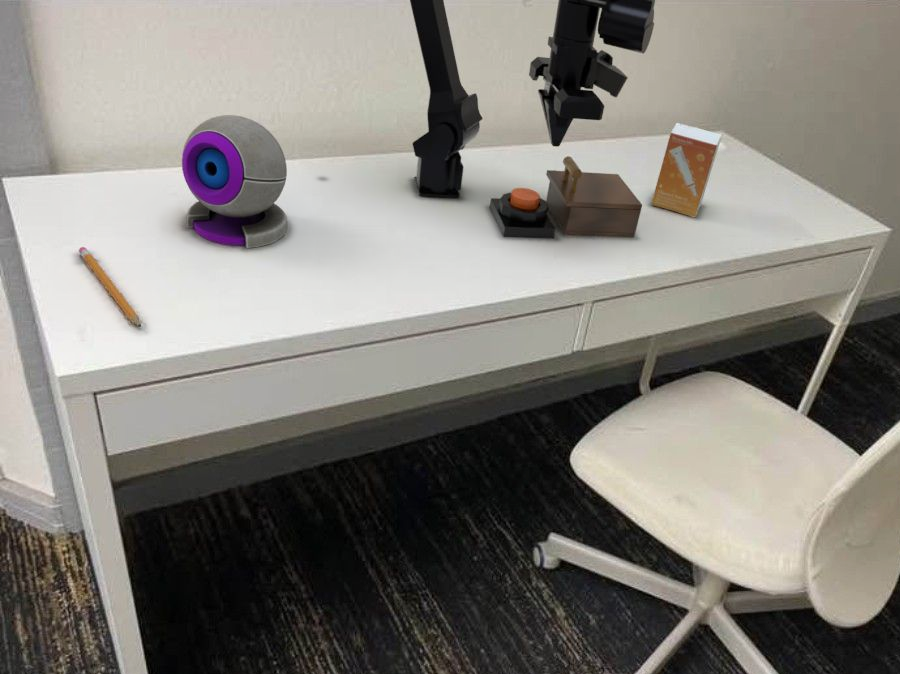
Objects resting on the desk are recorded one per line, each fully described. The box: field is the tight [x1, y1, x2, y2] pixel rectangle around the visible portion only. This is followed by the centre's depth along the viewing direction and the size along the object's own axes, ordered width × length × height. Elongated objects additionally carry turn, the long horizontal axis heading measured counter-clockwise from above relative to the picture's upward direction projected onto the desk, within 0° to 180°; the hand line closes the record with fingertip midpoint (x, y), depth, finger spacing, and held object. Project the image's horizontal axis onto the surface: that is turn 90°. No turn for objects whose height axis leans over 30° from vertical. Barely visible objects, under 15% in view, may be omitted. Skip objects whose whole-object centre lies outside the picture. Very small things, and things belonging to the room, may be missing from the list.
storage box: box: [545, 181, 642, 239], centre depth 136 cm, size 12×12×5 cm
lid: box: [545, 155, 643, 211], centre depth 133 cm, size 12×12×5 cm
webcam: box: [181, 114, 288, 249], centre depth 113 cm, size 13×13×15 cm
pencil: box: [78, 246, 142, 328], centre depth 99 cm, size 1×1×19 cm
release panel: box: [489, 192, 556, 239], centre depth 132 cm, size 10×8×4 cm
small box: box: [651, 122, 723, 218], centre depth 145 cm, size 8×6×13 cm
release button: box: [510, 187, 541, 210], centre depth 130 cm, size 4×4×2 cm
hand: (555, 145), depth 127 cm, fingers closed
